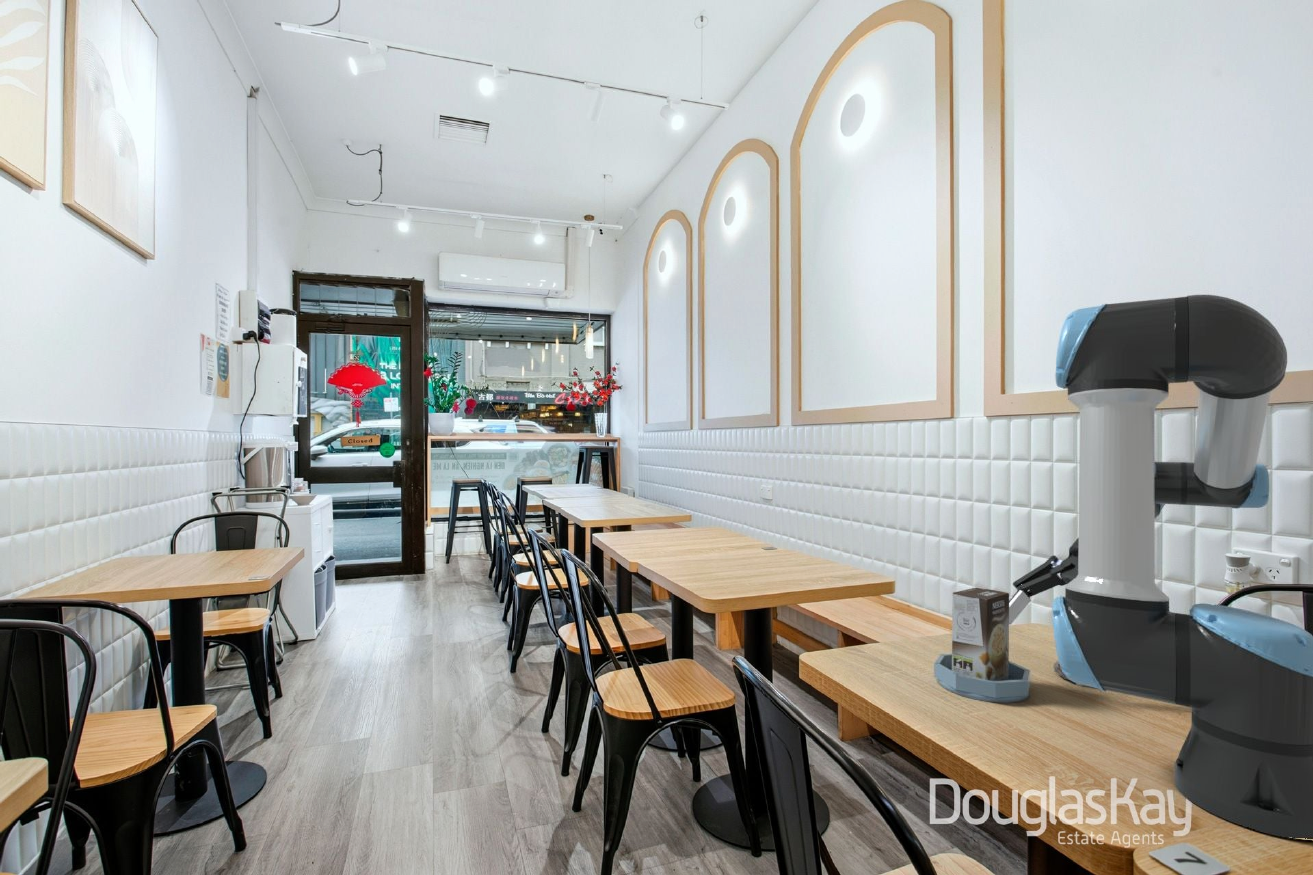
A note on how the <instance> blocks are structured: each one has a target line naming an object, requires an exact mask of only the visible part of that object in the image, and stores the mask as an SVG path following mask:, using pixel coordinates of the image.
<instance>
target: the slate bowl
mask: <svg viewBox="0 0 1313 875" xmlns="http://www.w3.org/2000/svg"><path fill="white" fill-rule="evenodd" d="M933 664H934V665H933V667H934V668H933V670H934V671H933V674H934V675H933V677H934V678H935V679H936V682H937V683H938V684H939V686H941V688H944V689H945V690H947V691H949V692H951V693H953V694H956V695H957V696H958V695H959V696H961V697H965V698H968V699H971V700H972V699H973V700H977V701H982V702H986V703H987V702H989V703H996V704H997V703H998V704H999V703H1001V704H1003V703H1004V704H1006V703H1007V704H1008V703H1009V704H1011V703H1017V702H1018V703H1019V702H1022V701H1025V700H1027V699H1028V698H1029V695H1030V686H1031V669H1028V668H1026V667H1023V666H1022V665H1020V664H1017V663H1015V662H1013V661H1010V660H1009V679H1008V680H1006V681H990V680H985V679H980V678H974V677H969V676H964V675H959V674H957V673H955V672H953V671H952V653H940V654H939V656H938V657H937V658H936V660H935V661H934V663H933Z"/></svg>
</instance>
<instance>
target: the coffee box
mask: <svg viewBox="0 0 1313 875" xmlns="http://www.w3.org/2000/svg"><path fill="white" fill-rule="evenodd" d="M1009 601H1010V593H1009V592H1005V591H1000V590H996V589H995V590H994V589H989V588H982V587H973V588H968V589H967V588H966V589H964V590H960V591H959V590H958V591H953V592H952V612H951V613H952V617H951V618H952V619H951V620H952V622H951V623H952V626H951V628H952V629H951V630H952V632H951V634H952V635H951V636H952V637H951V638H952V639H951V642H952V643H951V654H952V671H953V672H955V673H957V674H959V675H964V676H969V677H974V678H980V679H985V680H990V681H1006V680H1008V679H1009V661H1010V657H1009V656H1010V642H1009V641H1010V624H1009Z"/></svg>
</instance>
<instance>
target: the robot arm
mask: <svg viewBox="0 0 1313 875" xmlns="http://www.w3.org/2000/svg"><path fill="white" fill-rule="evenodd" d="M1058 339H1059V340H1058V344H1057V351H1056V359H1055V373H1054V377H1055V384H1056V387H1058V388H1062V389H1064V390H1066V389H1067V400H1068V401H1069V402H1071V403H1072V404H1073V405H1074V406H1075V407H1076V408H1078V412H1079V451H1078V452H1079V457H1078V458H1079V461H1078V462H1079V464H1078V466H1079V468H1078V469H1079V473H1078V476H1079V477H1078V537H1077V539H1076V540H1075V541H1074V542H1073V543H1072V544H1071V546H1070V547H1069V548H1068V556H1067V557H1066V558H1065V559H1064V560H1063V559H1062V560H1061V559H1059V558H1058V557H1057V556H1056V555H1054V554H1053V555H1051V556H1050V557H1049V558H1048V559H1046V561H1045V562H1044V563H1042V564H1040V565H1039V566H1037V567H1035V568H1034V569H1032V570H1031V571H1029V572H1028V573H1026V574H1024V575H1023V576H1021V577H1020V578H1018V579H1016V580H1015V581H1014V582H1013V583H1012V586H1013V587H1014V588H1015V589H1016V592H1015V593H1014V595H1012V597H1011V598H1009V625H1012V624H1013V623H1014V621H1015V620H1016V619H1017V618H1018V617H1019V616H1020V614H1021V613H1022V612H1023V611H1024V610H1025V608H1026V607H1027V606H1028V605H1029V603H1030V602H1031V601H1032V600H1031V598H1032V597H1033V596H1036V595H1038V594H1041V593H1043V592H1045V591H1048V590H1050V589H1052V588H1055V587H1058V586H1061V587H1062V586H1065V595H1060V596H1057V597H1055V598H1054V599H1053V602H1052V606H1051V607H1052V630H1053V638H1054V643H1055V651H1056V655H1057V661H1058V660H1059V664H1060V667H1061V669H1062V671H1063V673H1064V674H1065V676H1066V677H1067V678H1068V679H1069V680H1068V679H1067V680H1068V681H1070V680H1071V681H1070V682H1073V683H1075V684H1076V683H1078V684H1082V685H1084V686H1087V687H1090V688H1095V689H1098V690H1100V691H1102V692H1107V691H1108V692H1113V693H1118V694H1123V695H1128V696H1134V697H1137V698H1142V699H1147V700H1153V701H1157V702H1162V703H1166V704H1172V705H1176V706H1177V705H1178V706H1183V707H1187V708H1190V709H1191V722H1190V724H1191V725H1190V729H1189V731H1188V733H1187V736H1186V737H1185V740H1184V742H1183V744H1182V746H1181V748H1180V750H1179V753H1178V756H1177V758H1176V759H1175V762H1174V766H1173V783H1174V786H1175V788H1176V789H1177V791H1178V792H1179V793H1180V794H1182V795H1183V797H1185V799H1187V800H1189V801H1190V802H1191V803H1193V804H1195V805H1196V806H1197V807H1199V808H1201V809H1203V810H1205V811H1207V812H1209V813H1211V814H1213V815H1215V816H1217V817H1219V818H1221V819H1224V820H1227V821H1229V822H1231V823H1233V824H1236V825H1240V826H1241V825H1242V826H1241V827H1245V828H1247V827H1249V828H1248V829H1250V828H1251V829H1250V830H1253V829H1255V830H1254V831H1257V832H1261V833H1264V834H1267V835H1272V836H1275V837H1280V836H1281V837H1280V838H1285V837H1292V838H1305V839H1306V838H1307V839H1313V635H1312V633H1310V632H1308V631H1307V630H1305V629H1303V628H1302V627H1300V626H1297V625H1295V624H1293V623H1291V622H1288V621H1285V620H1282V619H1279V618H1276V617H1273V616H1270V615H1267V614H1263V613H1259V612H1255V611H1251V610H1246V609H1242V608H1238V607H1232V606H1227V605H1222V604H1209V603H1203V602H1201V603H1196V604H1193V605H1192V606H1191V608H1190V609H1189V614H1187V613H1180V612H1179V613H1178V612H1171V611H1170V597H1169V596H1168V595H1166V593H1165V592H1164V591H1163V590H1161V589H1160V587H1158V585H1157V584H1156V583H1155V582H1156V580H1155V579H1156V578H1155V577H1156V576H1155V574H1156V573H1155V570H1156V567H1155V565H1156V561H1155V560H1156V559H1155V556H1156V555H1155V553H1156V552H1155V548H1156V547H1155V544H1156V542H1155V541H1156V540H1155V536H1156V535H1155V523H1156V522H1155V519H1157V517H1159V515H1160V514H1161V513H1162V512H1161V511H1162V510H1163V509H1164V507H1165V506H1166V505H1176V506H1177V505H1180V506H1181V505H1182V506H1196V507H1197V506H1201V507H1217V508H1218V507H1219V508H1231V509H1235V510H1236V509H1237V510H1238V509H1241V508H1242V509H1246V508H1247V509H1258V508H1259V509H1260V508H1263V507H1265V506H1266V505H1268V502H1269V500H1270V499H1269V498H1270V473H1269V469H1268V467H1267V466H1266V465H1264V464H1260V463H1257V460H1258V457H1259V452H1260V446H1261V442H1262V437H1263V432H1264V428H1265V427H1264V426H1265V423H1266V416H1267V412H1268V411H1267V410H1268V406H1269V401H1270V396H1271V392H1273V391H1275V390H1276V389H1278V387H1279V386H1280V385H1281V384H1282V382H1283V380H1284V379H1285V375H1286V370H1287V364H1288V351H1287V347H1286V344H1285V342H1284V339H1283V337H1282V336H1281V334H1280V332H1279V331H1278V329H1277V328H1276V327H1275V326H1274V325H1273V323H1272V322H1271V321H1270V320H1269V319H1268V318H1267V317H1265V316H1264V315H1263V314H1262V313H1260V312H1259V311H1257V310H1256V309H1255V308H1252V307H1251V306H1249V305H1247V304H1245V303H1244V302H1243V303H1242V302H1240V301H1239V300H1235V299H1231V298H1230V297H1225V296H1220V295H1215V294H1191V295H1187V296H1180V297H1170V298H1159V299H1150V300H1138V301H1128V302H1126V301H1125V302H1118V303H1117V302H1116V303H1104V304H1103V303H1102V304H1101V305H1096V306H1090V307H1083V308H1079V309H1075V310H1073V311H1072V312H1071V313H1069V314H1068V315H1067V316H1066V318H1065V319H1064V322H1063V325H1062V327H1061V330H1060V334H1059V338H1058ZM1188 382H1189V383H1191V382H1192V383H1193V385H1194V386H1195V387H1196V388H1197V389H1198V401H1197V415H1196V417H1197V419H1196V430H1195V431H1196V433H1195V446H1194V461H1193V462H1192V461H1191V462H1189V461H1188V462H1186V461H1185V462H1184V461H1183V462H1182V461H1177V462H1176V461H1155V457H1156V456H1155V452H1156V451H1155V450H1156V449H1155V410H1156V408H1157V406H1159V405H1160V404H1161V403H1163V402H1164V401H1165V400H1167V398H1168V397H1169V396H1170V394H1169V391H1170V390H1169V388H1170V387H1169V385H1170V384H1175V383H1176V384H1178V383H1179V384H1180V383H1188Z"/></svg>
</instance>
